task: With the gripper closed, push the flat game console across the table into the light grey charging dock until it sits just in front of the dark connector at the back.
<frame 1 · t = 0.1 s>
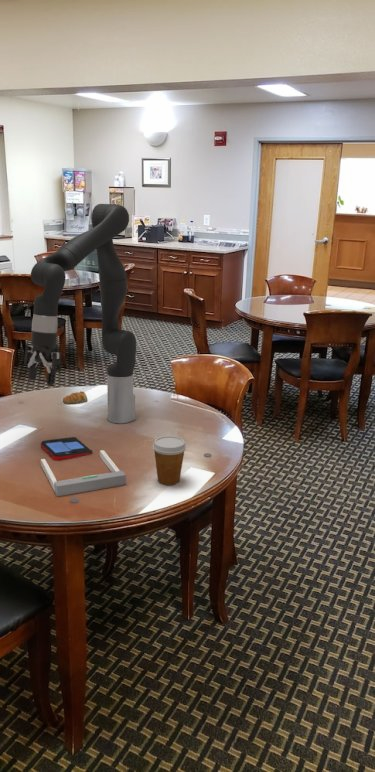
hand: (41, 382, 183), 22 cm above the table, tool pointing down, fingers open, 8 cm apart
pastry: (76, 402, 235), on the table
charging dock: (81, 474, 173), on the table
disposable coffee cup: (168, 481, 171), on the table
game console: (65, 451, 190), on the table
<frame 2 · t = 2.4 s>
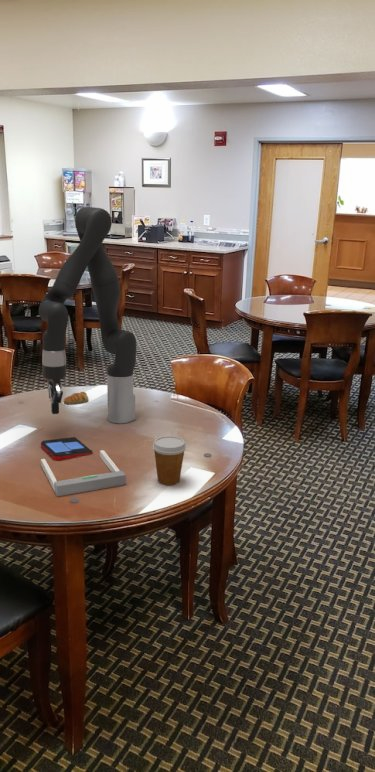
hand: (55, 413, 198), 8 cm above the table, tool pointing down, fingers closed
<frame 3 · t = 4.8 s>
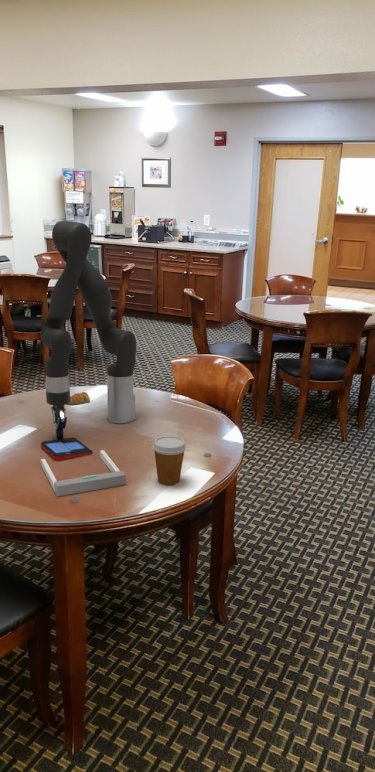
hand: (59, 438, 196), 1 cm above the table, tool pointing down, fingers closed
game console: (66, 452, 190), on the table, touching gripper
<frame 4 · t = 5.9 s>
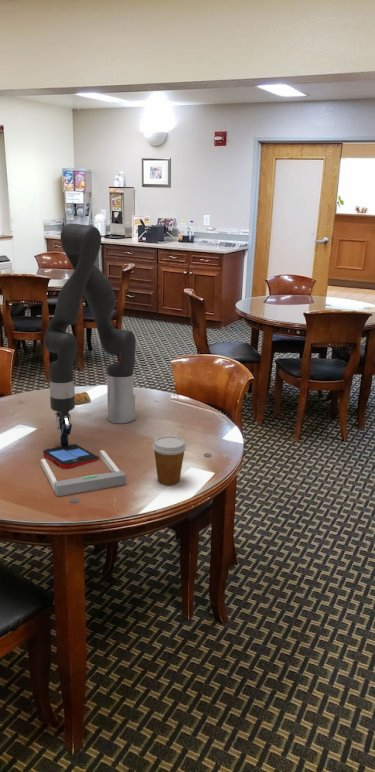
hand: (64, 445, 191), 1 cm above the table, tool pointing down, fingers closed
game console: (70, 459, 185), on the table
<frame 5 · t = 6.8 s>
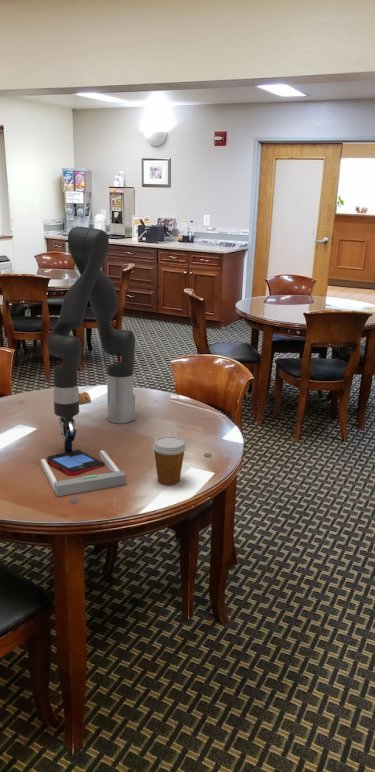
hand: (68, 451, 187), 1 cm above the table, tool pointing down, fingers closed
game console: (75, 465, 180), on the table, touching gripper
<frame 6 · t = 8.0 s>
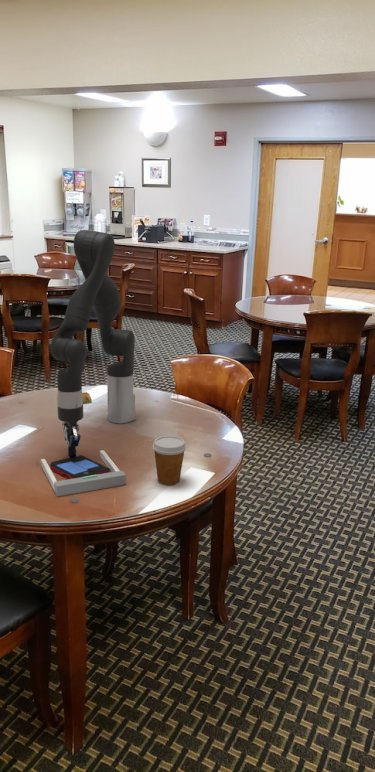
hand: (72, 456, 183), 1 cm above the table, tool pointing down, fingers closed
game console: (79, 471, 177), on the table
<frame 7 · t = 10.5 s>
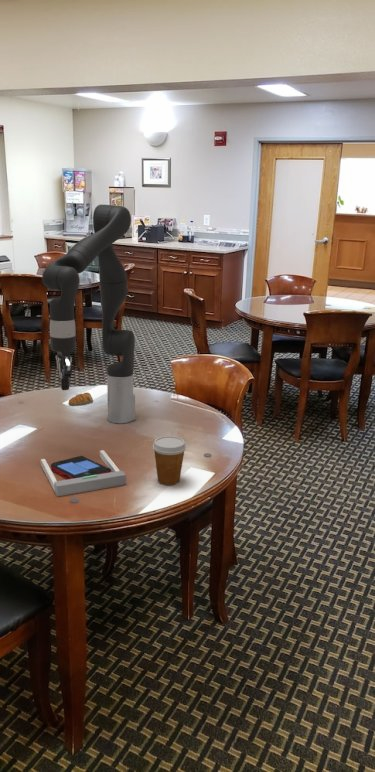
hand: (65, 389, 182), 21 cm above the table, tool pointing down, fingers closed
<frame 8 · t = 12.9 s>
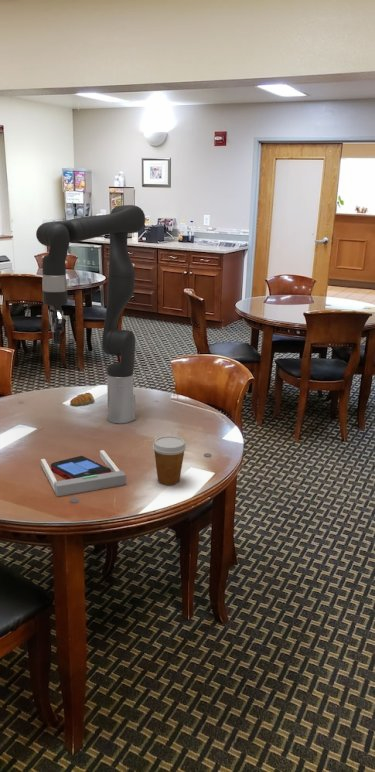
hand: (56, 343, 191), 32 cm above the table, tool pointing down, fingers closed
at the end: game console inside the target area (2.7 cm from its centre), on the table; game console moved 16.3 cm from its start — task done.
